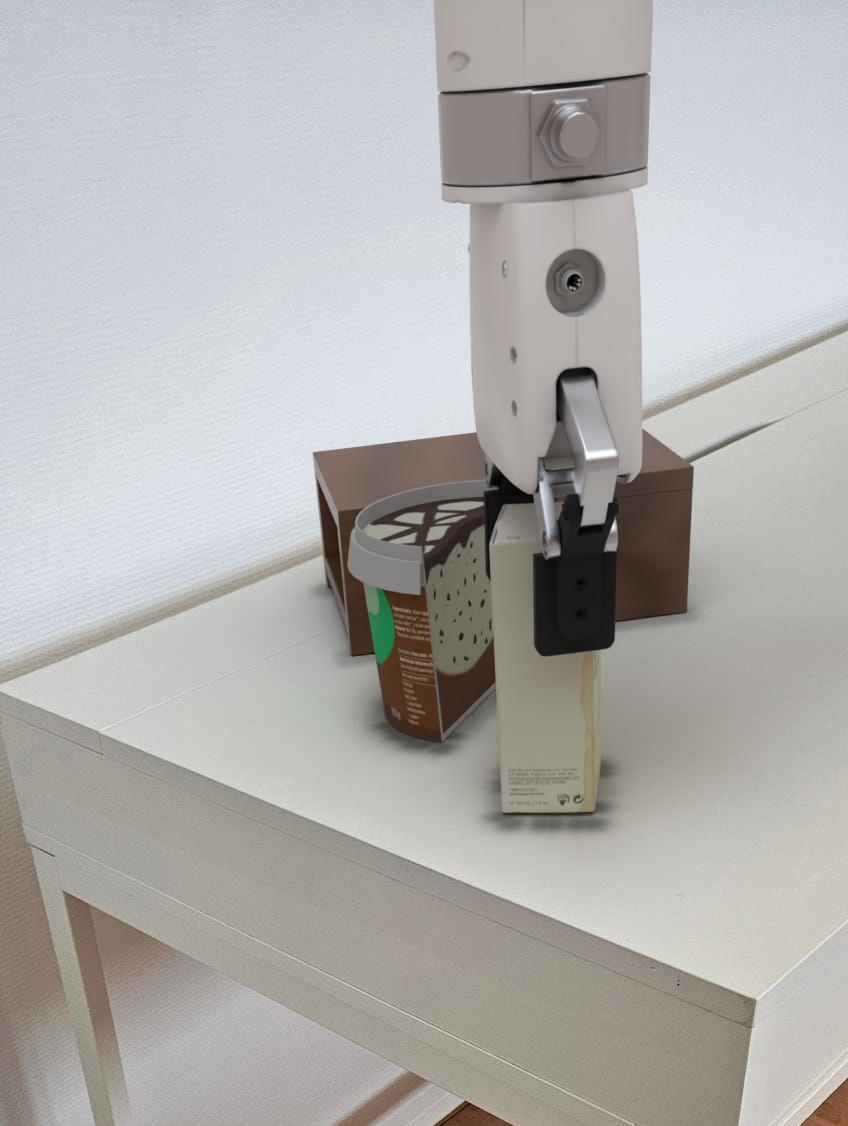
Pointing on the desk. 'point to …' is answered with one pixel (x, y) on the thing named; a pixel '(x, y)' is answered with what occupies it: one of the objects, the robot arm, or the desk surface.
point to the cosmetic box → (539, 687)
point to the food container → (428, 604)
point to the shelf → (370, 473)
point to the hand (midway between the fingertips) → (545, 611)
